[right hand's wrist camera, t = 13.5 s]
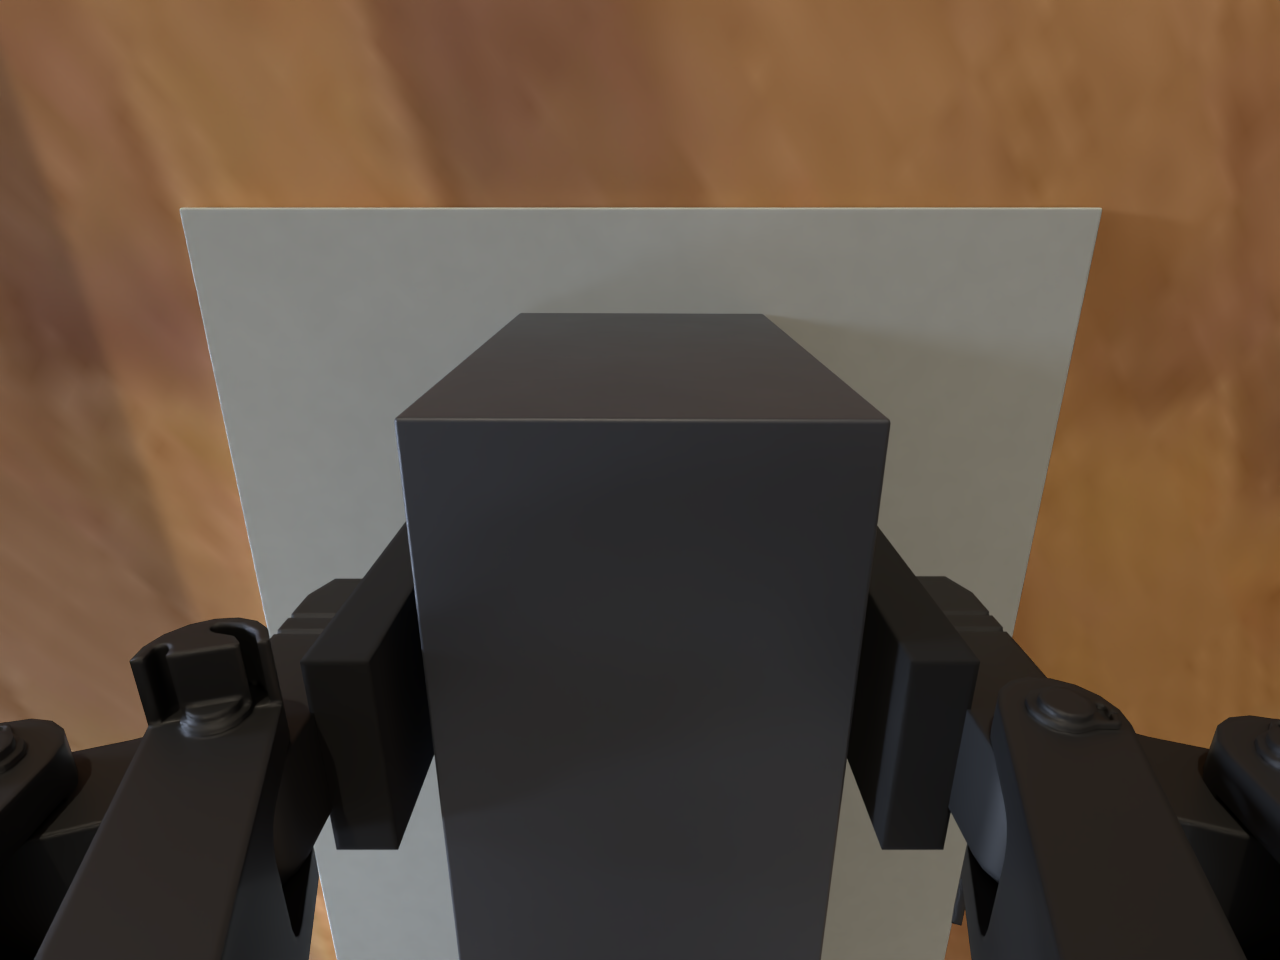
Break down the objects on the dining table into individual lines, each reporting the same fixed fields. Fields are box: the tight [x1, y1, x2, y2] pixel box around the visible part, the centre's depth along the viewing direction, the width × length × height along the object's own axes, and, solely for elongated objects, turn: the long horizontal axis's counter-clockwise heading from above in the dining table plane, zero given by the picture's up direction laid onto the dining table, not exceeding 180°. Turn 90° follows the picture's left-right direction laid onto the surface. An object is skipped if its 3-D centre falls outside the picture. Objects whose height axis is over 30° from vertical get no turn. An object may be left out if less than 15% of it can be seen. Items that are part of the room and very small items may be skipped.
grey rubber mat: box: [180, 208, 1102, 960], centre depth 20 cm, size 18×36×1 cm, turn 0°
